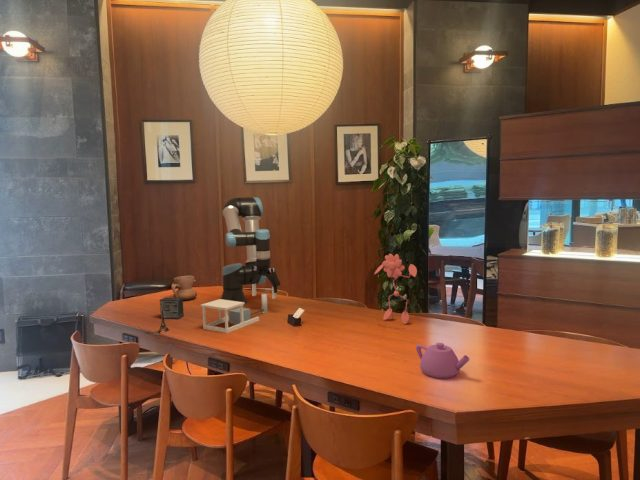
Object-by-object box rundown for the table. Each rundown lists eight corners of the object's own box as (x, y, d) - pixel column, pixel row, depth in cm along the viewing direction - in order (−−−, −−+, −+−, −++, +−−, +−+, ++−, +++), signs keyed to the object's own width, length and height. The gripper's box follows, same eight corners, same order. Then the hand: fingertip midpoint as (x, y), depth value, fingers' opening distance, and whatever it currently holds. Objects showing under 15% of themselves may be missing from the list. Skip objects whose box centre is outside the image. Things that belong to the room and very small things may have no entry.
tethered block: (261, 310, 254) (260, 292, 253) (271, 312, 251) (271, 294, 250) (229, 322, 232) (228, 302, 231) (240, 324, 229) (239, 304, 228)
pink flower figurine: (381, 315, 244) (380, 249, 240) (423, 325, 226) (423, 254, 222) (362, 322, 233) (360, 253, 229) (405, 332, 215) (404, 258, 211)
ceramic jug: (188, 295, 303) (187, 274, 302) (203, 297, 295) (202, 275, 293) (165, 301, 288) (163, 279, 287) (180, 304, 280) (179, 280, 279)
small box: (184, 316, 251) (183, 297, 250) (179, 319, 245) (178, 299, 244) (165, 315, 252) (164, 296, 251) (160, 319, 246) (159, 299, 245)
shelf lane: (235, 319, 243) (234, 294, 242) (260, 322, 235) (259, 297, 234) (201, 331, 222) (200, 304, 221) (227, 335, 214) (226, 308, 213)
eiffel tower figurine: (143, 333, 222) (141, 306, 220) (160, 328, 230) (159, 302, 229) (164, 338, 214) (162, 310, 212) (181, 332, 222) (180, 305, 221)
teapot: (461, 386, 154) (461, 355, 153) (407, 372, 167) (407, 343, 166) (476, 373, 165) (477, 344, 164) (424, 361, 178) (425, 334, 176)
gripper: (240, 257, 252) (241, 295, 254) (278, 261, 239) (278, 301, 242) (249, 255, 258) (250, 293, 261) (286, 259, 245) (287, 298, 248)
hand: (264, 297), depth 251 cm, fingers open, 13 cm apart
